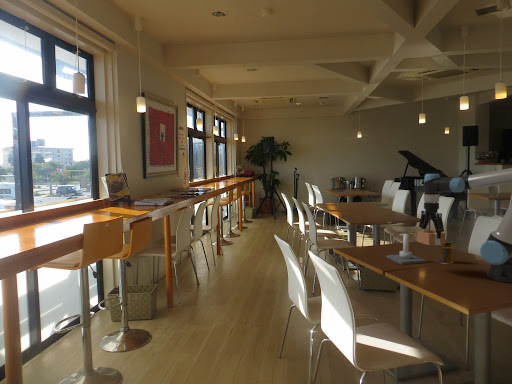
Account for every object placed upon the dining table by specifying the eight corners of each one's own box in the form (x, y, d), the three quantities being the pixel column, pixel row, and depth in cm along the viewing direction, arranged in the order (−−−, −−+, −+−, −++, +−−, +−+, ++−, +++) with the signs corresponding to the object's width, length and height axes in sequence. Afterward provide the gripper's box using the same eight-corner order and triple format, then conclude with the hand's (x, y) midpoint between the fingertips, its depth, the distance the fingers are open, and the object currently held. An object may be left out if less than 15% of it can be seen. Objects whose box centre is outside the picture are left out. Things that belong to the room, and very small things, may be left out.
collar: (445, 244, 201) (445, 233, 201) (428, 245, 199) (429, 234, 199) (432, 240, 211) (432, 230, 211) (417, 241, 209) (417, 231, 209)
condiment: (454, 262, 222) (455, 242, 221) (444, 264, 218) (445, 244, 218) (443, 259, 229) (444, 240, 228) (434, 261, 225) (434, 241, 224)
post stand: (425, 262, 222) (426, 236, 221) (401, 264, 219) (402, 237, 217) (409, 256, 238) (409, 231, 236) (386, 257, 234) (386, 232, 233)
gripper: (452, 203, 194) (451, 246, 195) (424, 200, 216) (423, 238, 217) (439, 204, 192) (439, 247, 193) (412, 200, 214) (412, 238, 215)
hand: (430, 242), depth 205 cm, fingers closed on collar, 10 cm apart
